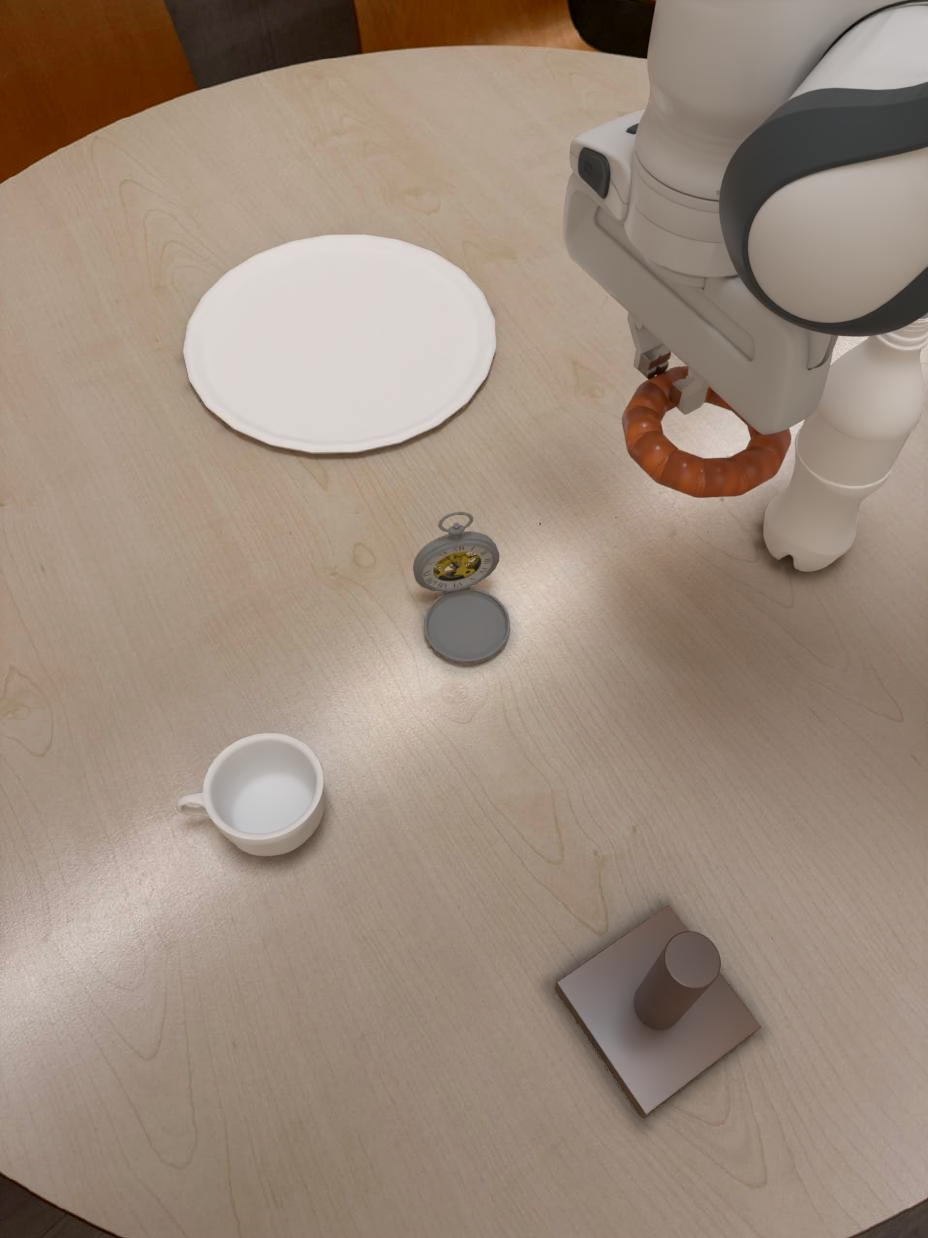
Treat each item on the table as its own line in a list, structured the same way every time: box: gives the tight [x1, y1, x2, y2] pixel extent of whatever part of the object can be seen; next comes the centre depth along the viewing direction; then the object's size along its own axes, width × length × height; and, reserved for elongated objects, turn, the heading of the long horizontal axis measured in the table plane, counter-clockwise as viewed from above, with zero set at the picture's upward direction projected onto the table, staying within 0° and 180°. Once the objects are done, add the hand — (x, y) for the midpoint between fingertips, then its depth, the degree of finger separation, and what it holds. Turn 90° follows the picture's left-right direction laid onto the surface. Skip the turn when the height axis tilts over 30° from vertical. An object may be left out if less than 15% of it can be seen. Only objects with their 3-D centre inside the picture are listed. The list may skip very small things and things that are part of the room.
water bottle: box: [762, 313, 928, 572], centre depth 74 cm, size 7×7×25 cm
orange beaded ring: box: [621, 365, 792, 499], centre depth 65 cm, size 10×10×2 cm
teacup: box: [175, 732, 325, 857], centre depth 69 cm, size 10×8×5 cm
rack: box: [554, 904, 762, 1119], centre depth 59 cm, size 9×9×12 cm
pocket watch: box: [412, 511, 511, 665], centre depth 76 cm, size 8×8×10 cm
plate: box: [182, 233, 497, 455], centre depth 96 cm, size 29×29×1 cm
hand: (667, 386), depth 67 cm, fingers closed on orange beaded ring, 2 cm apart
